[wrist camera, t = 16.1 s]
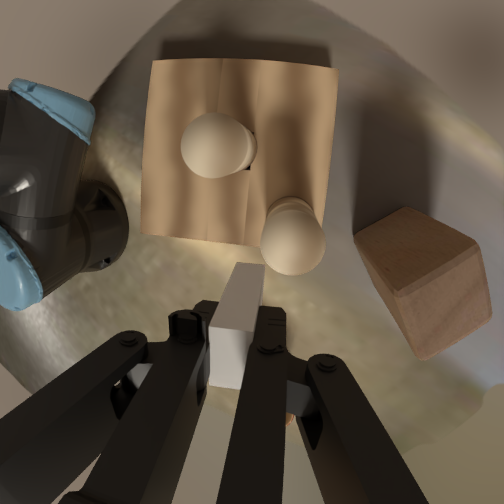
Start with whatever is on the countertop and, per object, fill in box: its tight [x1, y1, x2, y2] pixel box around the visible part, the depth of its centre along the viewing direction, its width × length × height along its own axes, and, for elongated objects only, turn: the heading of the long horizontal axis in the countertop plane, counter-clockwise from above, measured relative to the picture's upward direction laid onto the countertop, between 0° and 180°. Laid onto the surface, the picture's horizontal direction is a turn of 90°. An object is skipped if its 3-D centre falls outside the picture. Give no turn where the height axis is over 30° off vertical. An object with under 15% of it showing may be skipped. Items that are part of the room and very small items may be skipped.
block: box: [354, 207, 492, 361], centre depth 34 cm, size 10×10×20 cm
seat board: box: [141, 58, 339, 275], centre depth 34 cm, size 24×24×16 cm
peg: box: [181, 112, 257, 178], centre depth 34 cm, size 6×6×16 cm
